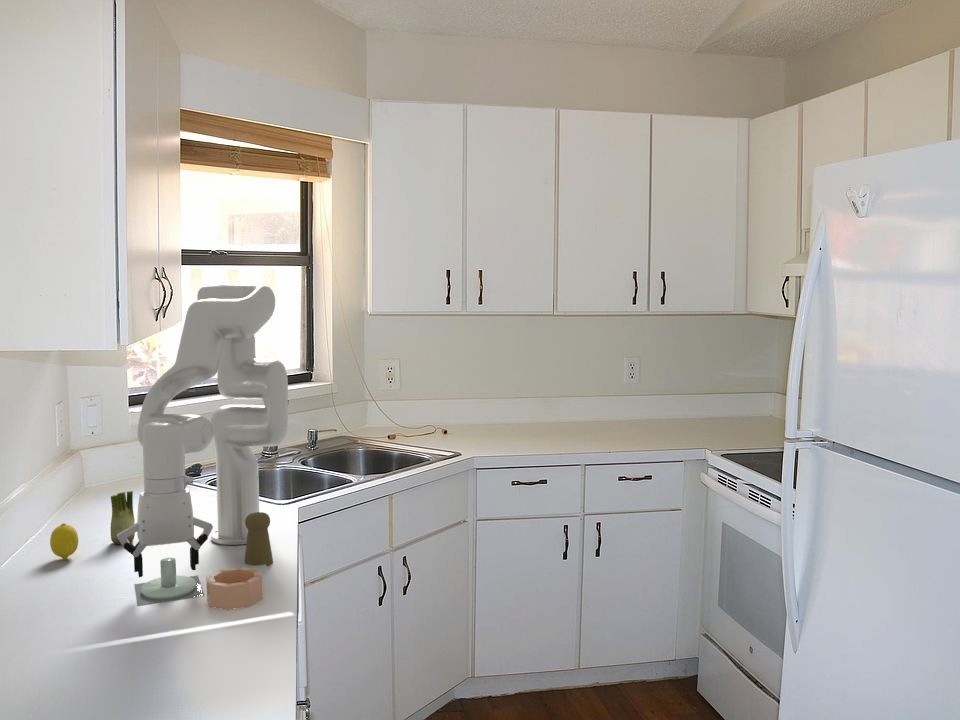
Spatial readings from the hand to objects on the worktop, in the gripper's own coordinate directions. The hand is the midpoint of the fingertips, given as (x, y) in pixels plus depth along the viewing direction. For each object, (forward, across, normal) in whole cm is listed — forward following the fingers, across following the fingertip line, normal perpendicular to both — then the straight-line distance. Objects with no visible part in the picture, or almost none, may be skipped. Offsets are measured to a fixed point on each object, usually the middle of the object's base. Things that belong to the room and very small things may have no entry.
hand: (167, 571), depth 164 cm
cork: (+4, -19, -10) cm, 22 cm away
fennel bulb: (+4, +7, -38) cm, 38 cm away
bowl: (+4, -11, +10) cm, 15 cm away
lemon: (+4, +19, -30) cm, 36 cm away
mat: (+4, 0, 0) cm, 5 cm away
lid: (+4, 0, 0) cm, 4 cm away
